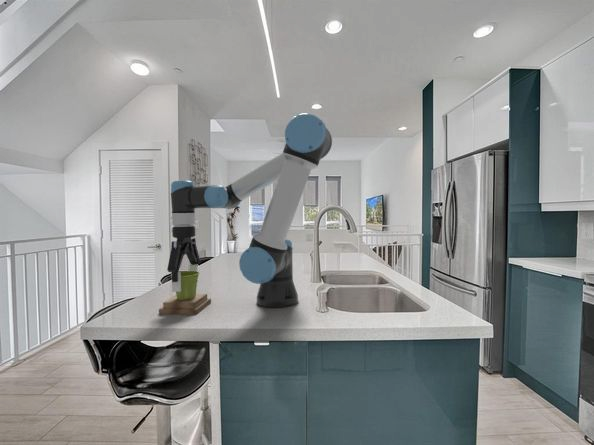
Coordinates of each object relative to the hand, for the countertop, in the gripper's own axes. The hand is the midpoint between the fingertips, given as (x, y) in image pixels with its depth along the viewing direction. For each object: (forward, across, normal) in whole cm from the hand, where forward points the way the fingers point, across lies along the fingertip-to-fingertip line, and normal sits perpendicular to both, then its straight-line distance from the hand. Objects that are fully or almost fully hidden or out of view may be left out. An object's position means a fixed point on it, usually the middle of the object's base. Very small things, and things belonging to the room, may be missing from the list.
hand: (185, 286), depth 110 cm
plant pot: (+4, 0, 0) cm, 4 cm away
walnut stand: (+8, 0, 0) cm, 8 cm away
